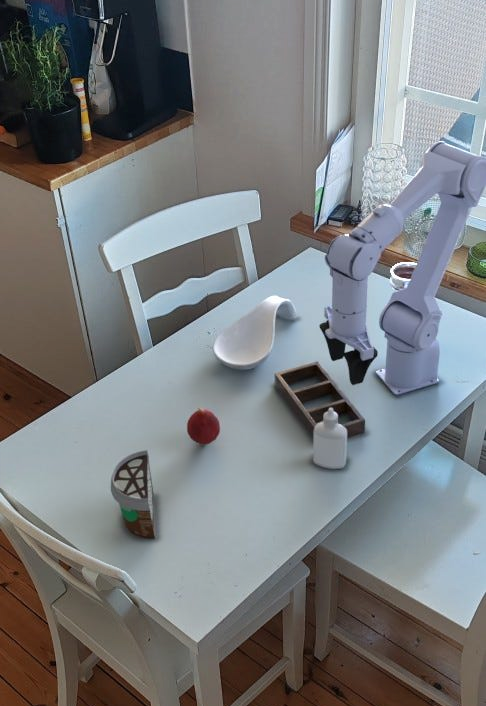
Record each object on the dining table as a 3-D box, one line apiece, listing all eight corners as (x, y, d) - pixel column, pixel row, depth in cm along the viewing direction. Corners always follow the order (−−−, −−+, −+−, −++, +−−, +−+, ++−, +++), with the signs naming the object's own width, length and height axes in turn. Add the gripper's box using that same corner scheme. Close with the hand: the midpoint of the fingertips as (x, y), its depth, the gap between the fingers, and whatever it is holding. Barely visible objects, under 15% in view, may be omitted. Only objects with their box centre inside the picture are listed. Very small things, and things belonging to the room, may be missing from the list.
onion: (225, 435, 167) (222, 401, 161) (214, 456, 163) (211, 421, 157) (195, 430, 168) (192, 395, 163) (184, 450, 164) (179, 415, 159)
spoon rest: (254, 385, 177) (253, 354, 172) (202, 368, 182) (199, 338, 177) (311, 322, 192) (311, 292, 187) (261, 308, 197) (260, 279, 192)
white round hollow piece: (422, 331, 187) (427, 279, 179) (388, 332, 188) (392, 281, 180) (418, 312, 192) (423, 261, 184) (385, 313, 193) (389, 262, 185)
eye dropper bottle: (332, 476, 158) (334, 422, 150) (309, 460, 161) (309, 407, 153) (350, 463, 160) (352, 410, 152) (326, 448, 163) (327, 395, 155)
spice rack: (317, 373, 179) (318, 361, 177) (364, 432, 166) (365, 420, 163) (274, 386, 177) (274, 373, 175) (318, 447, 163) (319, 434, 161)
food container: (118, 495, 157) (109, 451, 150) (154, 491, 157) (147, 447, 150) (116, 548, 148) (107, 505, 141) (155, 545, 148) (147, 501, 141)
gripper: (308, 289, 157) (308, 354, 166) (347, 333, 147) (345, 400, 156) (345, 279, 159) (343, 344, 168) (386, 322, 149) (382, 389, 158)
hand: (346, 370), depth 162 cm, fingers open, 7 cm apart
